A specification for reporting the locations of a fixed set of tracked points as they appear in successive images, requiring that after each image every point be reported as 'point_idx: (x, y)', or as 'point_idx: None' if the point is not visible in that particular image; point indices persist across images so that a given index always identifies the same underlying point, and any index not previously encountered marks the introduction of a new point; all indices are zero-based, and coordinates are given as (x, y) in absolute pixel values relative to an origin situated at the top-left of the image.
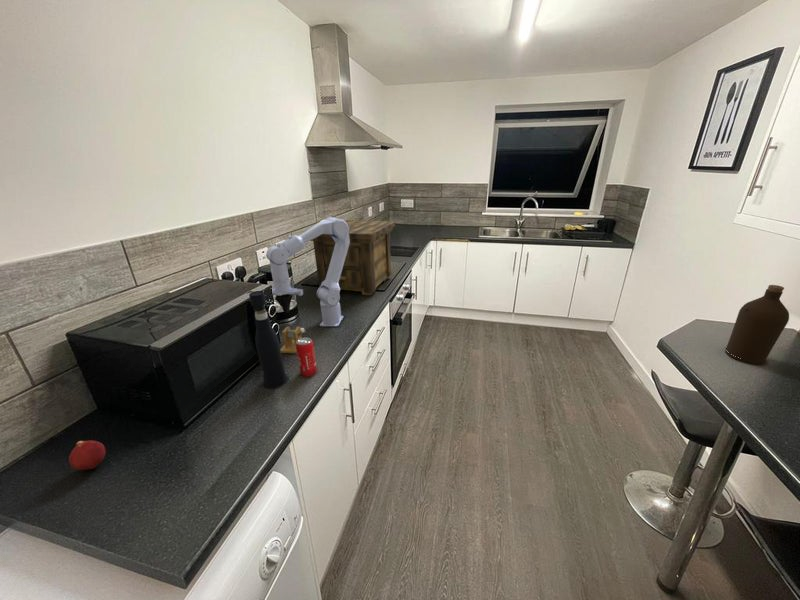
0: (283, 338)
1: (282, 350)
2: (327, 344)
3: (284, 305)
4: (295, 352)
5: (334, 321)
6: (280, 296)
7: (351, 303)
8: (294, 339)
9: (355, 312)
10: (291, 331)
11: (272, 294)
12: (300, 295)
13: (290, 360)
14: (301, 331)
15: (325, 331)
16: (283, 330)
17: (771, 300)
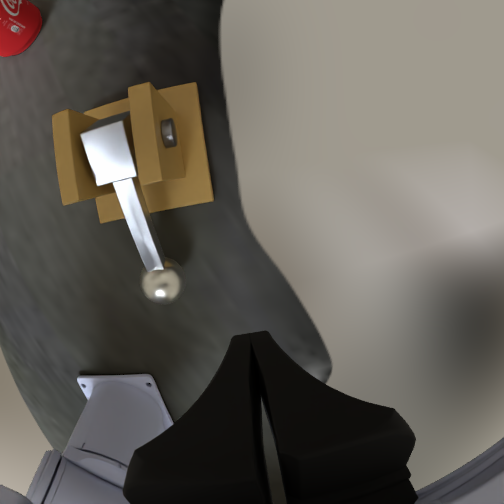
0: (160, 95)
1: (179, 89)
2: (27, 228)
3: (243, 382)
4: (110, 105)
5: (90, 397)
6: (326, 497)
7: None
8: (91, 118)
9: None
10: (94, 128)
11: (468, 467)
12: (3, 489)
13: (112, 55)
14: (146, 265)
15: (97, 335)
16: (151, 106)
17: None
